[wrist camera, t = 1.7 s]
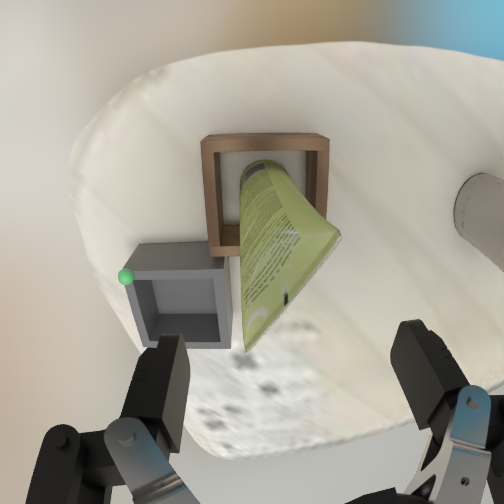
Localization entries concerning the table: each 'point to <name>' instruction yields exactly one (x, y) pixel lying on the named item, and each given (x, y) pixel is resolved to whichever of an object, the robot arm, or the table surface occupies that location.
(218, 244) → the brown wooden square frame
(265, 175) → the tube
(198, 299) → the socket block
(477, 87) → the table surface
